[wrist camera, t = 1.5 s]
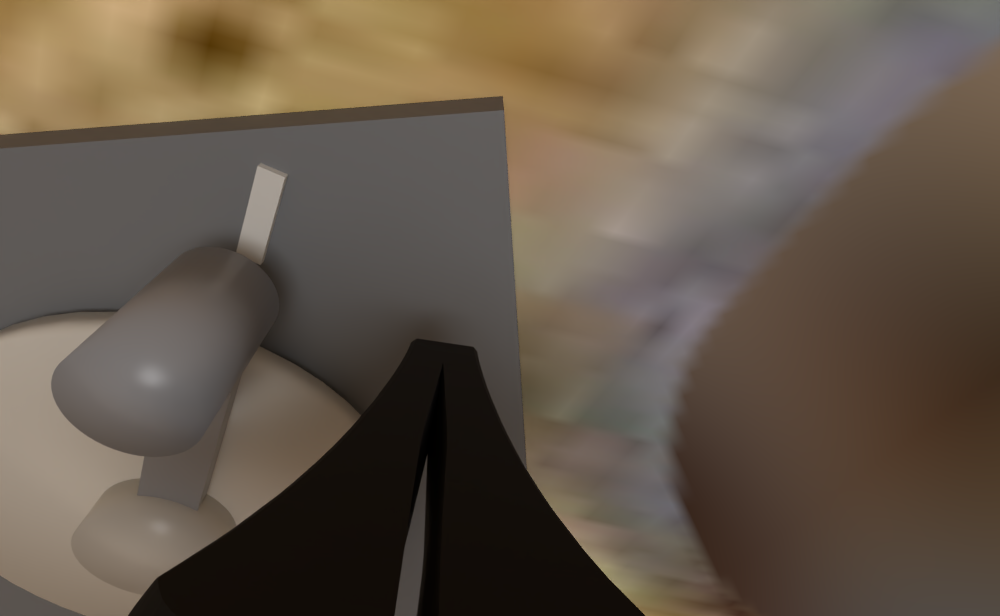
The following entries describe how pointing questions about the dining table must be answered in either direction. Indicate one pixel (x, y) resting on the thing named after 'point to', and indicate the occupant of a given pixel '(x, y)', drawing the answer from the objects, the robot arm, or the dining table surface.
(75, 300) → the dial plate
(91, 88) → the dining table surface
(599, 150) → the dining table surface
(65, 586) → the dial
